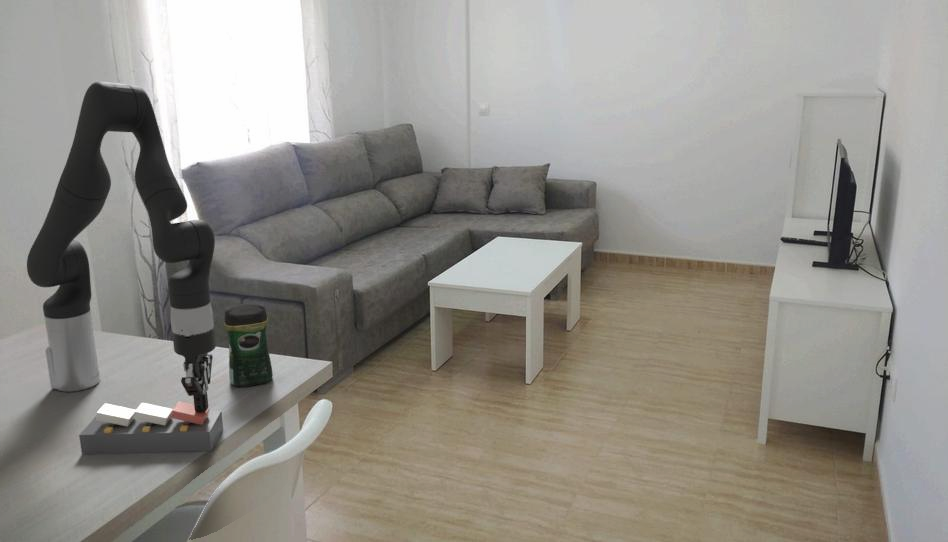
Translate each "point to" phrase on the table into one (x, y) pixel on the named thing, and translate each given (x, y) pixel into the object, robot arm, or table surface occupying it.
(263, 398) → the table surface
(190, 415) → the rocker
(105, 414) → the rocker
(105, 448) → the switch panel
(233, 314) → the coffee jar
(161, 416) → the block
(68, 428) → the table surface
